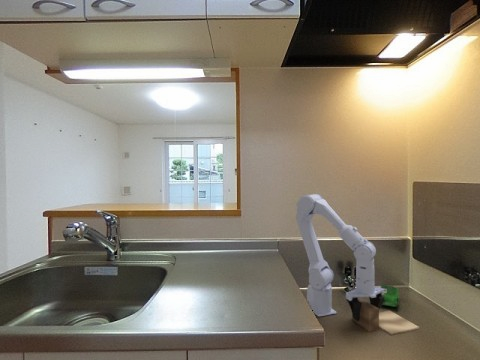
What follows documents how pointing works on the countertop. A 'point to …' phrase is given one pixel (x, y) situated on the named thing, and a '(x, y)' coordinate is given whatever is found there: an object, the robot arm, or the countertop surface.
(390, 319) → the plate
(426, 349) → the countertop surface
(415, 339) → the countertop surface
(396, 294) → the snack package
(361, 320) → the slab
